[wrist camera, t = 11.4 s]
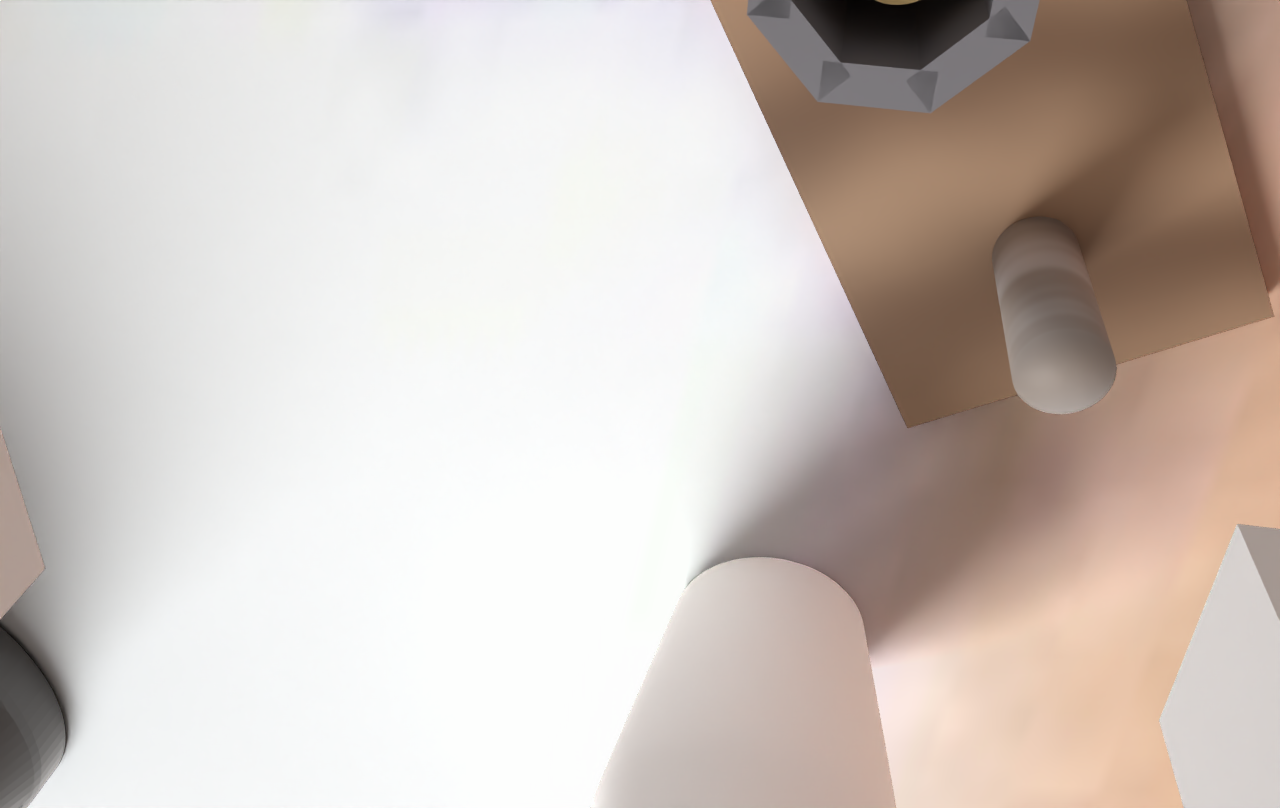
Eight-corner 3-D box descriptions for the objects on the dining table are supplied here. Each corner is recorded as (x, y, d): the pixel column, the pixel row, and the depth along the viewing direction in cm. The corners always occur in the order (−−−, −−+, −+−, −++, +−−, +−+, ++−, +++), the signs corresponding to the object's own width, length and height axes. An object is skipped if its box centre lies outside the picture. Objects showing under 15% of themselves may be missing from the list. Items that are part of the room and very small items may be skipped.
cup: (658, 501, 39) (581, 796, 29) (929, 556, 38) (945, 878, 28) (628, 687, 44) (554, 991, 34) (867, 738, 43) (861, 1065, 33)
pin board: (1264, 298, 32) (1348, 446, 26) (906, 409, 35) (910, 560, 30) (1061, -426, 24) (1117, -446, 18) (635, -186, 28) (569, -139, 22)
